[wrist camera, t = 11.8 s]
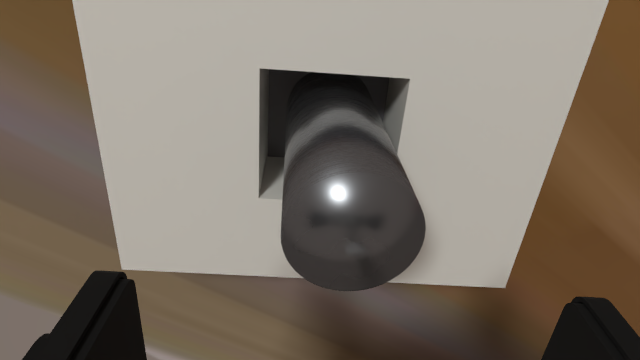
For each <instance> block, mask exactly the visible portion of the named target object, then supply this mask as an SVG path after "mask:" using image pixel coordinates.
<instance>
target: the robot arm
mask: <svg viewBox="0 0 640 360" xmlns="http://www.w3.org/2000/svg"><path fill="white" fill-rule="evenodd" d="M22 360H147V358H146V352H145V345H144V339H143V332H142V326H141V320H140V313H139V307H138V300H137V294H136V287H135V283H134V281H133V280H132V279H127V276H126V274H125V273H124V272H114V271H94V272H93V273H92V274H91V275H90V277H89V278H88V279H87V281H86V282H85V284H84V285H83V287H82V288H81V290H80V291H79V292H78V294H77V295H76V297H75V298H74V300H73V301H72V303H71V304H70V306H69V307H68V308H67V310H66V311H65V313H64V314H63V316H62V317H61V319H60V320H59V322H58V323H57V324H56V326H55V327H54V329H53V330H52V332H51V333H50V334H44V335H42V336H41V337H40V338H39V339H38V340H37V341H36V342H35V343H34V344H33V345H32V347H31V348H30V350H29V351H28V352H27V354H26V355H25V356H24V358H23V359H22ZM541 360H640V337H639V336H638V335H637V334H636V332H635V331H634V330H633V329H632V328H631V326H630V325H629V324H628V323H627V321H626V320H625V319H624V318H623V317H622V315H621V314H620V313H619V312H618V310H617V309H616V308H615V307H614V306H613V304H612V303H611V302H610V301H609V300H607V299H605V298H595V297H575V298H574V299H573V300H572V302H571V303H567V304H566V305H565V307H564V309H563V311H562V313H561V315H560V318H559V320H558V322H557V325H556V327H555V329H554V332H553V334H552V336H551V338H550V341H549V343H548V345H547V348H546V350H545V352H544V355H543V357H542V359H541Z"/></svg>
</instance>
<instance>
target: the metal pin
mask: <svg viewBox="0 0 640 360" xmlns="http://www.w3.org/2000/svg"><path fill="white" fill-rule="evenodd" d="M425 231H426V225H425V218H424V213H423V211H422V208H421V206H420V204H419V201H418V199H417V197H416V195H415V193H414V190H413V188H412V186H411V184H410V181H409V179H408V177H407V175H406V173H405V170H404V168H403V166H402V164H401V162H400V159H399V157H398V155H397V153H396V151H395V148H394V146H393V144H392V142H391V140H390V137H389V135H388V133H387V131H386V129H385V126H384V124H383V122H382V120H381V117H380V115H379V113H378V111H377V109H376V106H375V104H374V102H373V100H372V98H371V95H370V93H369V91H368V89H367V87H366V86H365V84H364V83H363V82H362V81H361V80H360V79H359V78H358V77H357V76H356V75H348V74H334V73H319V72H310V73H308V74H306V75H305V76H304V77H302V78H301V79H300V80H299V81H298V82H297V83H296V84H295V86H294V87H293V89H292V91H291V93H290V95H289V98H288V103H287V118H286V138H285V158H284V177H283V197H282V217H281V245H282V249H283V252H284V255H285V257H286V259H287V261H288V262H289V264H290V265H291V266H292V268H293V269H294V270H295V271H296V272H297V273H298V274H299V275H300V276H302V277H303V278H305V279H306V280H308V281H310V282H311V283H313V284H316V285H318V286H321V287H324V288H327V289H332V290H338V291H358V290H365V289H369V288H373V287H376V286H379V285H382V284H384V283H386V282H388V281H390V280H392V279H393V278H395V277H397V276H398V275H399V274H401V273H402V272H403V271H405V270H406V269H407V268H408V267H409V266H410V265H411V263H412V262H413V261H414V260H415V258H416V257H417V255H418V253H419V252H420V250H421V247H422V245H423V242H424V238H425Z"/></svg>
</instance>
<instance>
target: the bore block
mask: <svg viewBox="0 0 640 360" xmlns="http://www.w3.org/2000/svg"><path fill="white" fill-rule="evenodd" d="M72 1H73V7H74V12H75V17H76V23H77V28H78V34H79V39H80V45H81V50H82V55H83V61H84V66H85V72H86V77H87V83H88V88H89V93H90V99H91V104H92V110H93V115H94V121H95V126H96V131H97V137H98V142H99V148H100V153H101V159H102V164H103V170H104V175H105V180H106V186H107V191H108V197H109V202H110V208H111V213H112V218H113V224H114V229H115V235H116V240H117V246H118V251H119V256H120V262H121V267H122V269H125V270H146V271H166V272H187V273H207V274H228V275H248V276H269V277H289V278H303V277H302V276H300V275H299V274H298V273H297V272H296V271H295V270H294V269H293V268H292V266H291V265H290V264H289V262H288V261H287V259H286V257H285V255H284V252H283V249H282V245H281V217H282V197H283V177H284V158H285V138H286V118H287V103H288V98H289V95H290V93H291V91H292V89H293V87H294V86H295V84H296V83H297V82H298V81H299V80H300V79H301V78H302V77H304V76H305V75H306V74H308V73H310V72H319V73H334V74H348V75H356V76H357V77H358V78H359V79H360V80H361V81H362V82H363V83H364V84H365V86H366V87H367V89H368V91H369V93H370V95H371V98H372V100H373V102H374V104H375V106H376V109H377V111H378V113H379V115H380V117H381V120H382V122H383V124H384V126H385V129H386V131H387V133H388V135H389V137H390V140H391V142H392V144H393V146H394V148H395V151H396V153H397V155H398V157H399V159H400V162H401V164H402V166H403V168H404V170H405V173H406V175H407V177H408V179H409V181H410V184H411V186H412V188H413V190H414V193H415V195H416V197H417V199H418V201H419V204H420V206H421V208H422V211H423V213H424V218H425V225H426V231H425V238H424V242H423V245H422V247H421V250H420V252H419V253H418V255H417V257H416V258H415V260H414V261H413V262H412V263H411V265H410V266H409V267H408V268H407V269H406V270H405V271H403V272H402V273H401V274H399V275H398V276H397V277H395V278H393V279H392V280H390V281H388V282H392V283H413V284H433V285H454V286H474V287H495V288H505V286H506V283H507V281H508V278H509V275H510V272H511V270H512V267H513V264H514V261H515V258H516V256H517V253H518V250H519V247H520V245H521V242H522V239H523V236H524V234H525V231H526V228H527V225H528V223H529V220H530V217H531V214H532V211H533V209H534V206H535V203H536V200H537V198H538V195H539V192H540V189H541V187H542V184H543V181H544V178H545V175H546V173H547V170H548V167H549V164H550V162H551V159H552V156H553V153H554V151H555V148H556V145H557V142H558V139H559V137H560V134H561V131H562V128H563V126H564V123H565V120H566V117H567V115H568V112H569V109H570V106H571V104H572V101H573V98H574V95H575V92H576V90H577V87H578V84H579V81H580V79H581V76H582V73H583V70H584V68H585V65H586V62H587V59H588V56H589V54H590V51H591V48H592V45H593V43H594V40H595V37H596V34H597V32H598V29H599V26H600V23H601V20H602V18H603V15H604V12H605V9H606V7H607V4H608V1H609V0H72Z"/></svg>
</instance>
